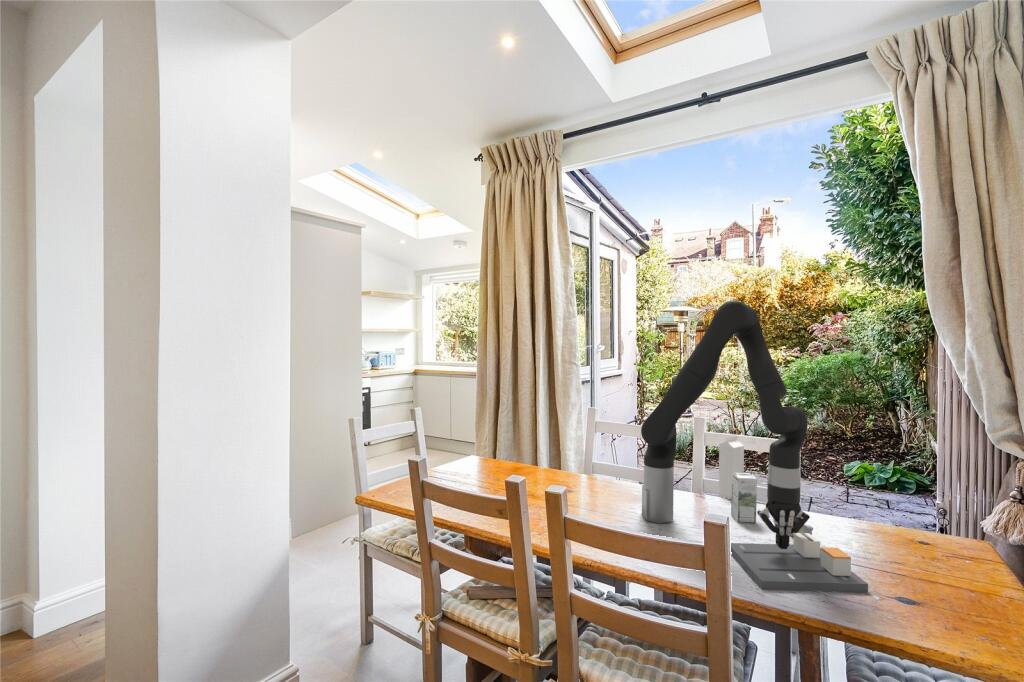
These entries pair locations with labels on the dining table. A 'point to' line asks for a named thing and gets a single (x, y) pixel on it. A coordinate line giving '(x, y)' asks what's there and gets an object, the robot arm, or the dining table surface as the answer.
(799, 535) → the cream cap
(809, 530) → the grey figurine
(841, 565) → the orange fader cap
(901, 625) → the dining table surface
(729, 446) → the milk
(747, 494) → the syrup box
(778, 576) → the fader console
